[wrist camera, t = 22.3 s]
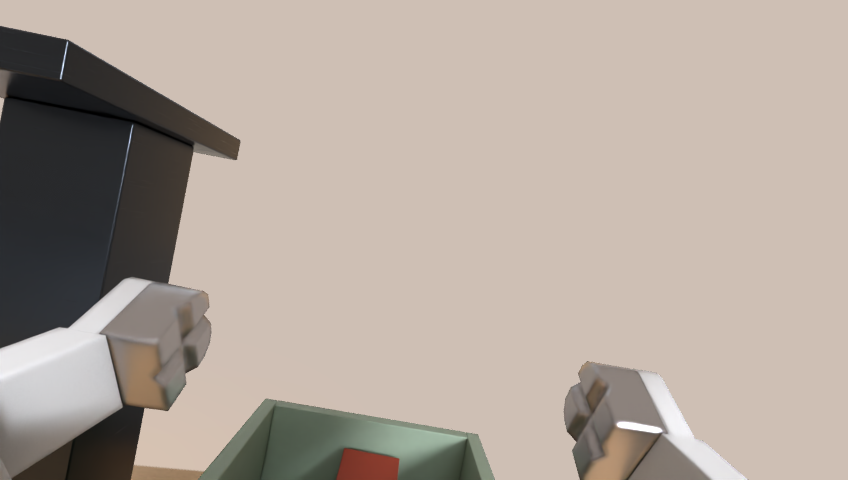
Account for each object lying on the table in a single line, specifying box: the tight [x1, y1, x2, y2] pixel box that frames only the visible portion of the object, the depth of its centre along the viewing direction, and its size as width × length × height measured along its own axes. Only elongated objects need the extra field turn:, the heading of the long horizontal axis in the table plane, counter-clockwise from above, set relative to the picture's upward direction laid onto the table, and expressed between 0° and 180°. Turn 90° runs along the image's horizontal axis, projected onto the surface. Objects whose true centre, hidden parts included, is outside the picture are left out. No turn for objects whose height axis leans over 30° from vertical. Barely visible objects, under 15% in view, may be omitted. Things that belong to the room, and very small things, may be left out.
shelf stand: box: [0, 26, 240, 480], centre depth 19 cm, size 10×13×26 cm
